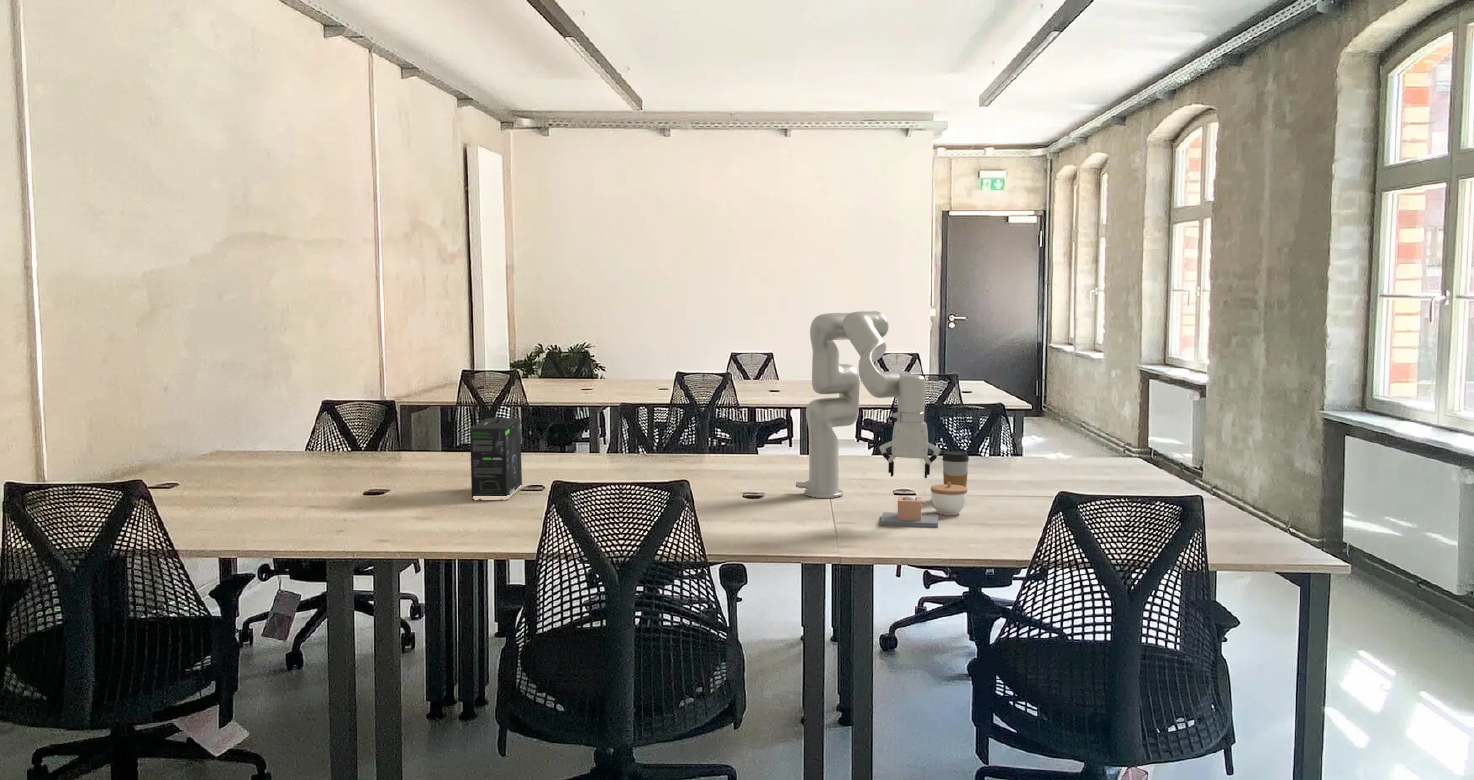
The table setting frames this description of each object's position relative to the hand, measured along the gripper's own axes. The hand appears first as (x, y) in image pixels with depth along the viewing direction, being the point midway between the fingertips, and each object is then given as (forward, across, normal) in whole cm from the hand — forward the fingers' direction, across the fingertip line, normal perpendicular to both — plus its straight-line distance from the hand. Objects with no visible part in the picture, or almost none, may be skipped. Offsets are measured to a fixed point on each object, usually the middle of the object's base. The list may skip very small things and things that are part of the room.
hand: (908, 476), depth 304 cm
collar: (+12, +1, -1) cm, 12 cm away
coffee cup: (+14, +14, +34) cm, 39 cm away
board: (+13, +1, -1) cm, 13 cm away
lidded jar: (+14, +12, +13) cm, 22 cm away
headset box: (+17, -134, +17) cm, 136 cm away
